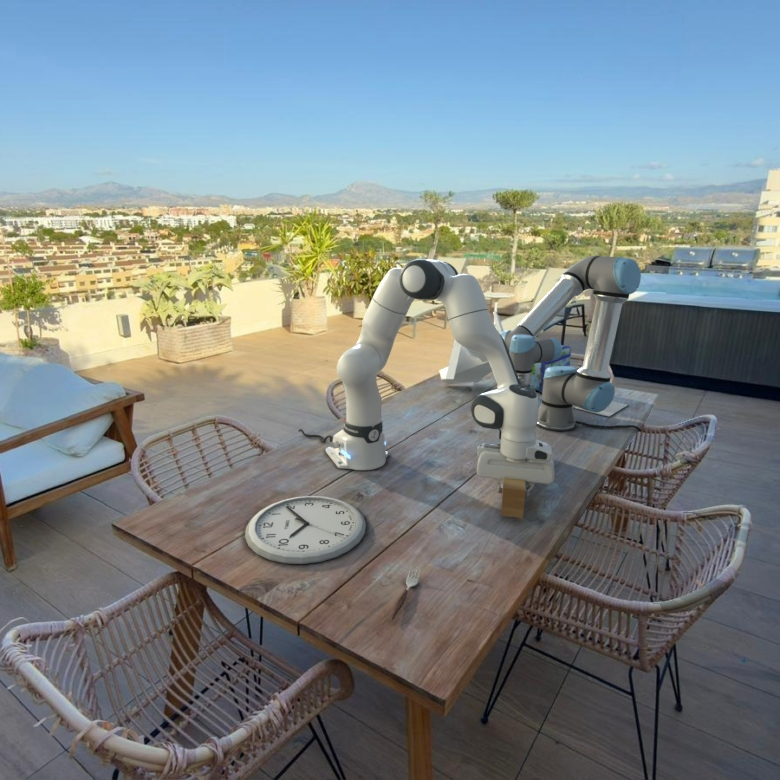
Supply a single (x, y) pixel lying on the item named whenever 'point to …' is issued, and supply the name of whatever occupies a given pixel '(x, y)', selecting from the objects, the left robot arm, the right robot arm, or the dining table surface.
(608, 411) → the invitation card
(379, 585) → the dining table surface
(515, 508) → the bar
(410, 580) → the fork
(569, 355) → the lunch box
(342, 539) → the wall clock
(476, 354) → the white plastic object
